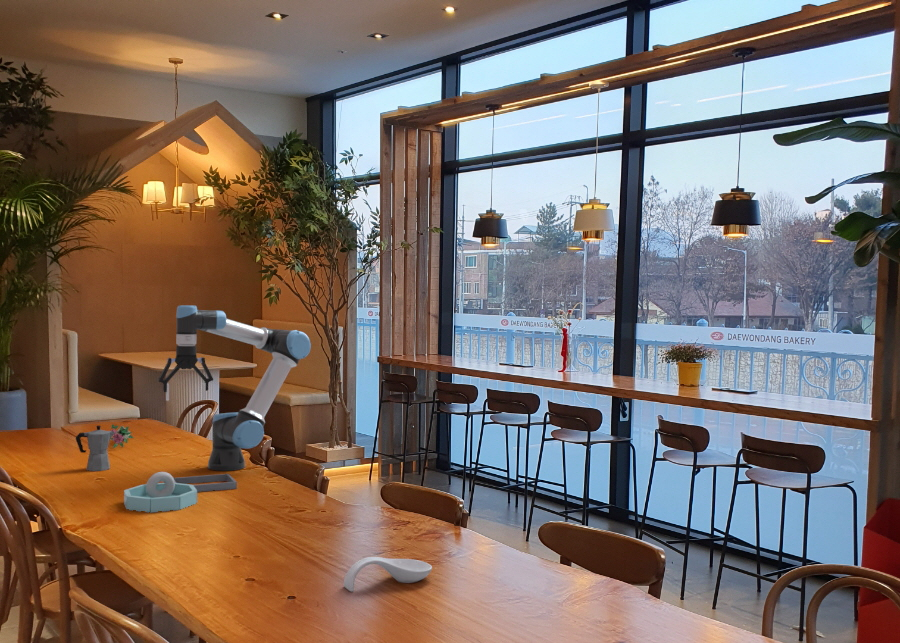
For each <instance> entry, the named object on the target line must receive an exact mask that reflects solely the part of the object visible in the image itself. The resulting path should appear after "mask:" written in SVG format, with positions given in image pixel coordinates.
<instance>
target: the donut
mask: <svg viewBox="0 0 900 643" xmlns="http://www.w3.org/2000/svg"><path fill="white" fill-rule="evenodd" d="M173 478H174V476H172V475H171V473H168V472H166V471H159V472H155V473H153V474H151V476H150V477H149V478H148V480H147V482H146V483H145V484H146V492H147V494H148V496H149V497H150V498H157V497H169V496H170V495H171V494H172V493H173V490H174V487H175V481H174V479H173ZM158 483H165V487H164V489H163V490H161V491H158V490H157V489H156V485H157V484H158Z"/></svg>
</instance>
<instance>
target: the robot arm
mask: <svg viewBox="0 0 900 643" xmlns="http://www.w3.org/2000/svg"><path fill="white" fill-rule="evenodd" d="M175 319H176V320H175V321H176V337H175V338H176V340H175V341H176V343H175V344H176V347H175V358H173V357H167V358H166V364H165V366H164V368H163V370H162V372H161V374H160V376H159V377H158V379H157V381H158V382H159V383H161V384H162V390H163V393H165V401H167V402H169V401H170V383H168V382H170V380H171V379H172V378H173V377H174V376H175V374H176V373H177V372H178V371H179V370H180V369H181V370H192V369H193V370H194V371H195V373H197V375H198V376H199V377H200V378H201V379H202V380H203V382H202V388H201V389H202V390H201V391H202V392H201V393H202V394H201V399H202V400H203V401H204V400H206V392H207V391H209V383H210V382H213V381H214V378H213V375H212V374H211V372H210V369H209V367H208V366H207V364H206V358H205V357H203V356H201V357H197V334H198V330H200V331H203V332H207V333H211V334H214V335H218V336H221V337H225V338H228V339H230V340H231V339H232V340H235V341H239V342H242V343H246V344H249V345H252V346H255V348H256V349H258V350H261V351H264V352H267V353H269V354H271V356H272V360H271V361H270V363H269V365H268V367H267V368H266V371H265V372H264V374H263V376H262V378H261V379H260V381H259V383H258V384H257V387H256V388H255V390H254V392H253V394H252V395H251V397H250V399H249V401H248V402H247V404H246V407H244V408H242V409H239V411H237V412H225V413H222V412H221V413H216V414H214V415H213V417H212V449H211V453H210V455H209V459H208V461H207V469H208V470H211V471H217V472H218V471H219V472H224V471H225V472H227V471H237V470H241V469H244V468H246V461H245V457H244V454H243V452H242V449H246V450H247V449H253V448H255V447H256V446H258V445H259V444H260V443H261V442H262V441H263V438H264V436H265V435H264V434H265V431H264V430H265V429H264V426H265V424H266V420H265V417H266V415H267V413H268V411H269V410H270V408H271V405H272V404H273V402H274V400H275V398H276V397H277V395H278V393H279V391H280V390H281V387H282V386H283V384H284V382H285V380H286V379H287V376H288V374H289V372H290V371H291V369H292V368H296V367H297V366H298V364H299V363H300V361H301V360H302V359H305V358H306V357H307V356H308V355H309V354H310V352H311V347H312V344H311V340H310V338H309V336H308V335H307V334H306V333H305V332H303V331H299V330H297V329H294V330H290V329H274V328H268V327H264V326H263V327H257V326H252V325H250V324H246V323H243V322H239V321H235V320H233V319H229V318H227V315H226V313H225V311H223V310H206V309H205V310H204V309H198V307H197V305H183V304H182V305H177V307H176V315H175ZM174 362H175V363H176V366H175V367H174V368H173V369H172V370H171V372H169V374H168V375H167V376H166V374H167V372H168V371H169V369H170V367H171V365H173V363H174ZM197 363H199V364H201V367H202V369H203V370H204V372H205V374H206V376H205V374H204V373H202V371H201V370H200V369H199V368H198V366H197V365H196V364H197ZM207 377H208V378H207Z"/></svg>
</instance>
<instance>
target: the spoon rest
mask: <svg viewBox="0 0 900 643" xmlns="http://www.w3.org/2000/svg"><path fill="white" fill-rule="evenodd" d="M369 565H378V566H380V567H381V568H382V569H384V570H385V571H386V572H387V573H388V574H389V575H390V576H391V577H392V578H394V579H395V581H396V582H398V583H402V584H404V583H405V584H411V583H417V582H419V581H422V580H423V579H425V578H427V576H429V574H430V573H431V572H432V570H433V566H432V565H431V564H429V563H428V562H426V561H423V560H417V559H413V558H412V559H411V558H387V557H386V558H385V557H381V556H367V557H364V558H360V560H358V561H356V562H354V564H352V566H350V567H349V569H348V570H347V572H346V573H345V577H344V578H343V579H344V581H343V587H344V588H345V589H347V590H348V591H349V592H351V593H352V592H354V591H355V581H356V577H357V575H358V573H359V572H360V571H361V570H362V569H364V568H365V567H367V566H369Z"/></svg>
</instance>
